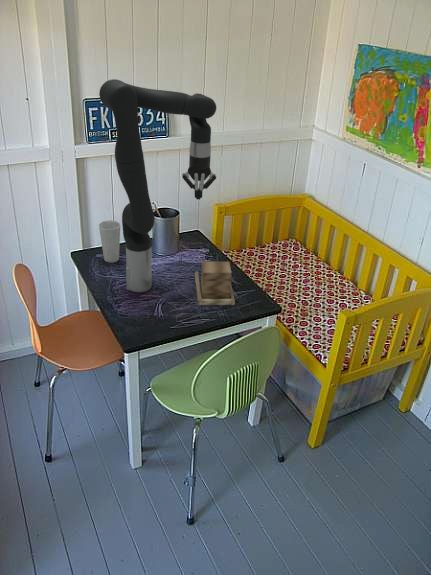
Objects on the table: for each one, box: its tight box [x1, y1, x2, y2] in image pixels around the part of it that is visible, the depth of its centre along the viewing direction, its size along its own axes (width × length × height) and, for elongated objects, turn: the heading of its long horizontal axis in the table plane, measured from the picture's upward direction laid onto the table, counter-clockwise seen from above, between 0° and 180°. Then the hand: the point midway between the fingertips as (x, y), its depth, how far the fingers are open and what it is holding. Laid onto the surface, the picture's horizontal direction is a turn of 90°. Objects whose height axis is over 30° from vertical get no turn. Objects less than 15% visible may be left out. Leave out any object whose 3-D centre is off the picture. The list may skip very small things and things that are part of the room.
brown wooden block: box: [200, 261, 233, 299], centre depth 200 cm, size 10×8×12 cm
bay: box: [194, 271, 236, 306], centre depth 206 cm, size 18×21×3 cm
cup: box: [98, 220, 121, 264], centre depth 220 cm, size 8×8×16 cm
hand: (198, 198), depth 203 cm, fingers closed
